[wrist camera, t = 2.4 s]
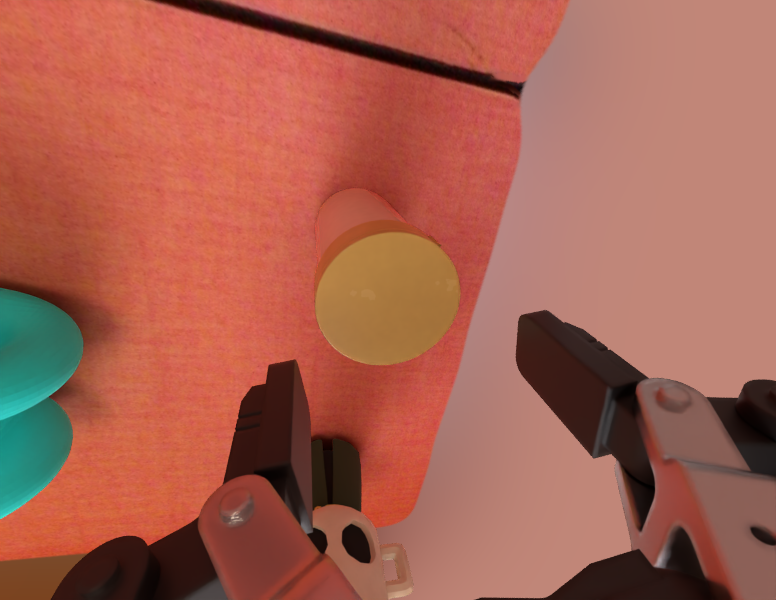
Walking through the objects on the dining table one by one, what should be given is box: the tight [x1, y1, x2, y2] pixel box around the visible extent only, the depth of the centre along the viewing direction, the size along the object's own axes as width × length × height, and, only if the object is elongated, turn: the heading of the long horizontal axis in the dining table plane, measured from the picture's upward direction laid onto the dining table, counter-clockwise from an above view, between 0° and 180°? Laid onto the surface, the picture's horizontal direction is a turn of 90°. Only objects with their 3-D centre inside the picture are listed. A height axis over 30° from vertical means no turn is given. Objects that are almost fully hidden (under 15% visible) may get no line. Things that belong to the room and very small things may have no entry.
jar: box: [315, 188, 407, 266], centre depth 19 cm, size 5×5×11 cm
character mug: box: [307, 439, 413, 600], centre depth 27 cm, size 11×7×13 cm, turn 82°
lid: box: [314, 220, 460, 365], centre depth 15 cm, size 6×6×2 cm
